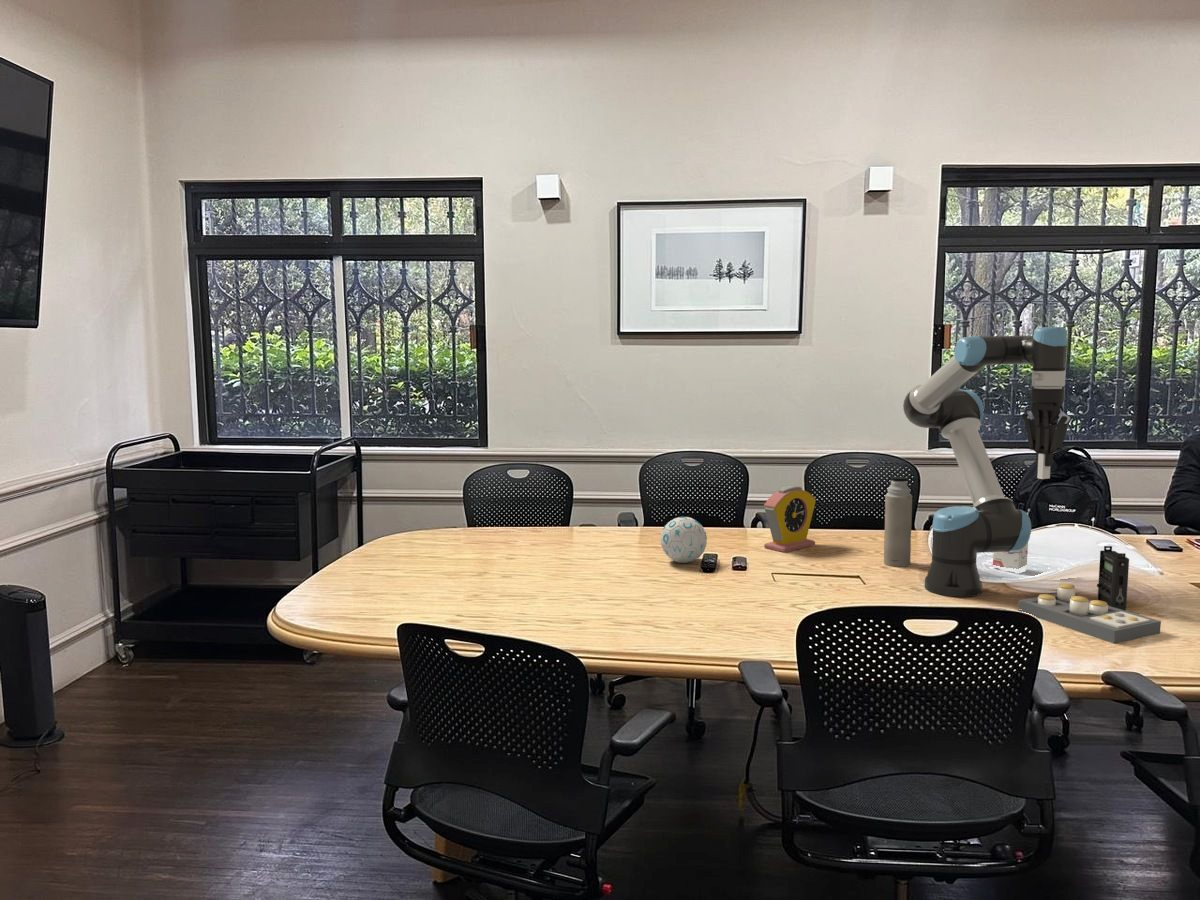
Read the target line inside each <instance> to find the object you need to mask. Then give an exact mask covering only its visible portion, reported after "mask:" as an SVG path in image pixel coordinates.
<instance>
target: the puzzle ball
mask: <svg viewBox="0 0 1200 900" xmlns="http://www.w3.org/2000/svg"><path fill="white" fill-rule="evenodd" d="M706 533H707V532H706V531H705V529H704V527H703V525H702V524H701V523H700V522H699V521H697V520H696V519H694V518H692V517H690V516H678V517H675V518H673V519H670V521H668V522H667V523H666V524H665V525H664V526H663V528H662V531H661V533H660V543H661V548H662V551H663V552H664V554H665V555H666V556H667V557H668V558H669V559H670V560H672V561H674V562H676V563H681V564H683V563H684V564H687V563H688V564H689V563H692V562H694V561H695V560H697V559H699V558H700V557H701V556H702V554H704V552H705V550H706V547H707V543H708V542H707V540H708V538H707V534H706Z"/></svg>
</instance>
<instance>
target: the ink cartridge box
mask: <svg viewBox="0 0 1200 900" xmlns="http://www.w3.org/2000/svg"><path fill="white" fill-rule="evenodd" d="M1028 548H1029V542H1028V543H1027V544H1026V546H1025V547H1024V548H1022V549H1020V550H1015V551H1010V552H992V553H993V554H992V566H993V565H996V566H1000V567H1006V568H1013V569H1014V568H1016V569H1019V568H1021V567H1023V566H1025V565H1027V566H1028V550H1029V549H1028Z"/></svg>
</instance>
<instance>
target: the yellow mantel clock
mask: <svg viewBox="0 0 1200 900" xmlns="http://www.w3.org/2000/svg"><path fill="white" fill-rule="evenodd" d="M816 501H817V499H816V497H815V496H813V494H811V493H810V492H808V491H807V490H803V487H801V486H795V485H786V486H783V487H780V489H778V490H777V491H775V492H774V493H772V494H771V495H770V497H768V498H767V500H766V502H765V503H764V504H763V508H764V512H765V516H766V519H767V522H768V523H767V524H768V526H769V530H770V534H771V537H772V541H769V542H765V543H764V544H763V545H764V548H765V549H766V548H767V550H772V551H776V552H778V553H789V552H792V551H797V550H802V549H805V548H809V547H813V546H815V545H816V541H815V540H813V539H808V538H807V537H808V534H809V533H808V532H809V531H810V526H811V521H812V517H813V513H814V509H815V505H816Z"/></svg>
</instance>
